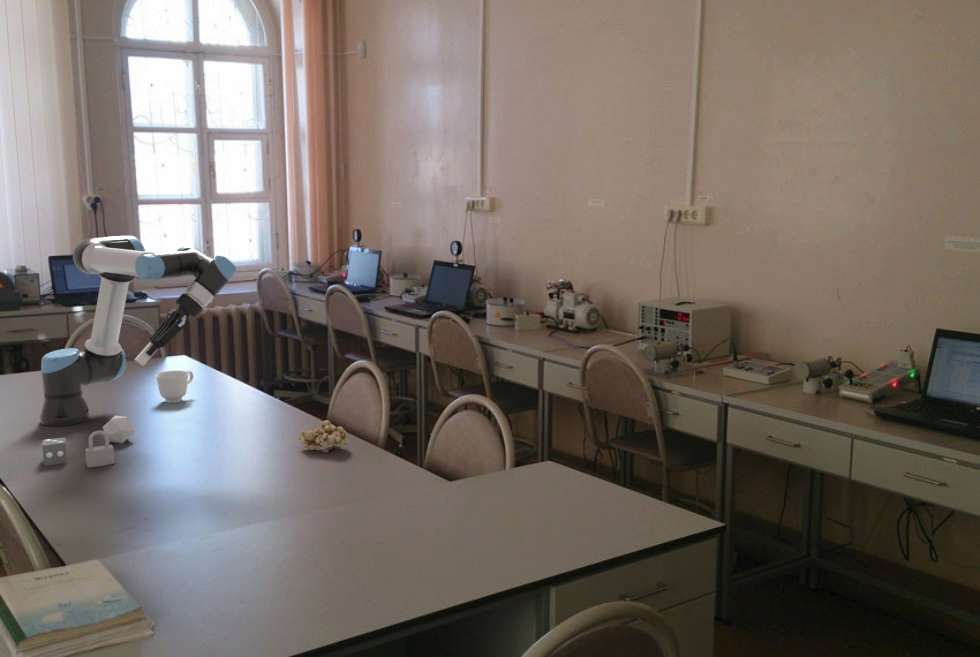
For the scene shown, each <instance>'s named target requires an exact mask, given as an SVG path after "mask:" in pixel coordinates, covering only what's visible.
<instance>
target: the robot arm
mask: <svg viewBox="0 0 980 657" xmlns="http://www.w3.org/2000/svg"><path fill="white" fill-rule="evenodd" d="M145 249H146V248H144V245H143V243H142V241H141V240H140V239H139V238H138V237H136V236H134V235H123V234H122V235H118V236H117V235H116V236H103V237H102V236H101V237H100V236H99V237H90V238H89V237H88V238H86V239H84V240H82V241H80V242H78V244H77V245H76V246H75V248H74V249H73V254H72V260H73V262H74V265H75V266H76V268H77V269H78V270H79V271H80V272H83V273H85V274H88V275H98V276H99V277H100V278H101V279H100V285H99V291H98V296H97V301H96V302H97V303H96V308H95V313H94V320H93V323H92V324H93V325H92V329H91V335H90V338H89V339H86V341H85V343H84V346H83V350H79V349H78V348H75V347H74V348H72V347H70V348H69V347H67V348H61V349H57V350H53V351H50V352H48V353H46V354H44V355H43V357H42V358H41V362H40V363H41V364H40V366H41V367H40V368H41V369H40V371H41V377H42V386H43V389H42V390H43V398H44V400H43V404H42V408H41V413H40V416H39V420H40V424H41V425H43V426H48V427H62V426H69V425H76V424H77V425H78V424H81V423H84V422H86V421H88V420H90V419H91V411H90V409H89V406H88V404H87V403H86V400H85V398H84V396H83V395H84V394H83V387H84V386H88V385H89V386H90V385H95V384H97V383H104V382H111V381H112V380H117V379H119V378H120V377H121V376H122V375H123V374H124V373H125V370H126V368H127V359H126V357H127V356H126V353H125V351H124V349H123V348H122V345H121V344H120V343H119V339H120V332H121V327H122V322H123V317H124V312H125V307H126V302H127V295H128V290H129V284H130V283H131V282H133V281H134V280H135V279H136V277H139V278H140V279H141V280H143V281H158V280H162V279H163V280H165V279H171V278H172V279H173V278H182V277H183V278H184V277H189V276H190V277H193V278H195V279H194V280H193V281H192V282H191V283H190V284H189V285H188V287H187V288H186V289H185V290H184V292H185V293H184V292H183V293H181V295H180V296H179V297H178V298H177V299H176V300H175V304H176V305H177V306H178V308H176V309H175V310H173V311H171V313H168V314H166V316H165V318H164V320H163V321H162V322H161V323H160V325H159V326H158V327H157V329H156V330H155V332H153V334H152V335H151V336H150V338H149V343H147V344H146V346H145V347H144V348H143V349H142V350H141V351H140V352H139V354H138V355H137V356H136V357H135V358H134V361H136V363H138V364H139V365H141V366H142V367H144V366H145V365H146V363H147V362H148V361H149V360H150V359H151V358H152V357H153V356H154V355H155V354H156V352H157V351H158V350H159V349H161V348H162V349H163V348H164V347H165V346H167V344H168V343H169V342H171V341H172V339H174V338H175V336H176V335H178V334H179V332H180V331H181V330H183V329H184V328H185V327H186V326H187V325H188V324H187V322H188V320H189V318H190V317H192V318H194V319H197V318H198V316H199V315H200V314H201V313H203V311H204V308H206V307H208V305H209V304H213V299H215V297H216V296H217V295H219V294H218V293H220V292H221V290H222V289H224V287H225V286H226V285H227V284H228V283H229V282H230V281H231V279H232V278H233V277H234V275H235V274H236V273H237V266H236V265H235V264H234V263H233V262H232V261H231V260H230V259H228V257H226V256H224V255H223V254H221V253H220V254H216V256H213V258H212V257H210V256H209V255H208V254H206V253H204V252H203V251H202V250H200V249H199V248H196V247H193V246H191V245H189V244H188V245H187V244H186V245H183V246H181V247H180V248H178V249H177V250H176V251H170V252H152V251H151V252H150V251H146V250H145Z"/></svg>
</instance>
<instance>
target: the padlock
mask: <svg viewBox="0 0 980 657" xmlns="http://www.w3.org/2000/svg"><path fill="white" fill-rule="evenodd" d="M97 435H101V436H103V437H104V438H103V439H104V445H100V446H99V445H98V446H94V441H93V440H94V437H95V436H97ZM84 452H85V461H86V463H85V464H86V467H87V468H89V469H90V468H98V467H106V466H109V465H114V464H115V463H116V461H115V449H114V446H113V445H112V444H110V441H109V436H108V434H107V433H106V432H105V431H104V430H95V431H93V432H91V433H90V434H89V435H88V447H86V448H85V450H84Z"/></svg>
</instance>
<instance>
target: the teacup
mask: <svg viewBox="0 0 980 657" xmlns="http://www.w3.org/2000/svg"><path fill="white" fill-rule="evenodd" d="M154 378H156V382H157V385H158V386H157V387H158V391H159V395H160V397H161V398H163V399H165V403H167V404H176V403H180V402H182V401H183V397H184V396H186V394H187V391H188V385H189V384H190V383H191V382H192V381H193V379H194V373H193V372H192V371H191V370H168V371H162V372H158V373H155V375H154Z"/></svg>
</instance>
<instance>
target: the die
mask: <svg viewBox="0 0 980 657" xmlns="http://www.w3.org/2000/svg"><path fill="white" fill-rule="evenodd" d="M102 429H103V431H105V432H106V433H107V434H108V436H109V443H116V444H124V443H125V442H126V441H127V440H128V439H129V438H130V437H131V436H132V435H133V434H134V433H136V432H135V429H134V426H133V425H132V423H131V421H130V419H129V417H128V416H123V415H114V416H113V417H111V418H110V419H109V421H107V422H106V424H104V425H103V426H102Z"/></svg>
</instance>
